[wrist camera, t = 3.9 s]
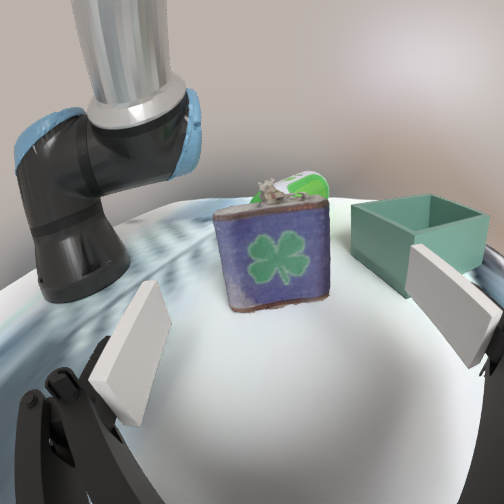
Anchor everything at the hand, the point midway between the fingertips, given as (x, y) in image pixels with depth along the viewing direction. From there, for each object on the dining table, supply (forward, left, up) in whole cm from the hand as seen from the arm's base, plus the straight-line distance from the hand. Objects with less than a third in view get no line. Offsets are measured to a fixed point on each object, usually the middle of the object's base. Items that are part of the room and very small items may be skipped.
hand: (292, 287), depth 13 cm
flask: (-9, +2, -7) cm, 12 cm away
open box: (-9, +19, -7) cm, 22 cm away
